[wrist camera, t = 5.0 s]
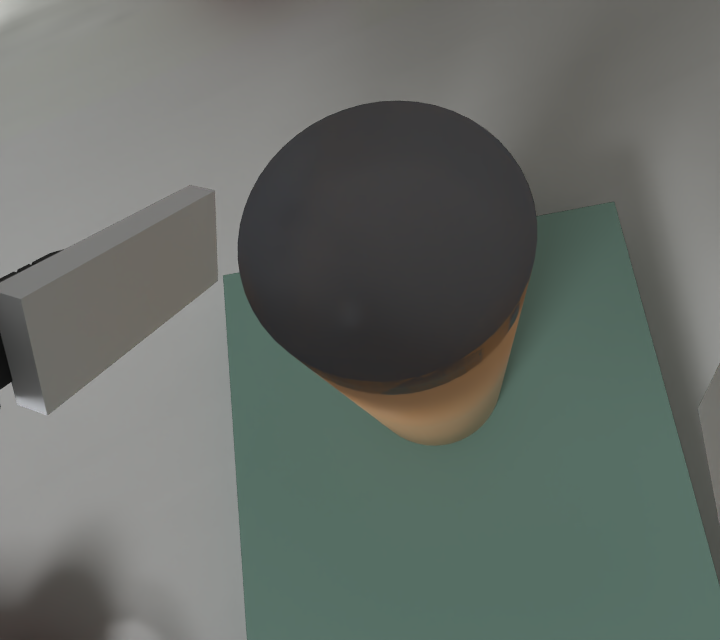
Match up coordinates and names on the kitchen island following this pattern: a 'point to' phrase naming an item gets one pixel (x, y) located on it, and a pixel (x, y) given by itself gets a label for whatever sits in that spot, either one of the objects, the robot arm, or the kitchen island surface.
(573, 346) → the socket board
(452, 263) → the plug
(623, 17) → the kitchen island surface
